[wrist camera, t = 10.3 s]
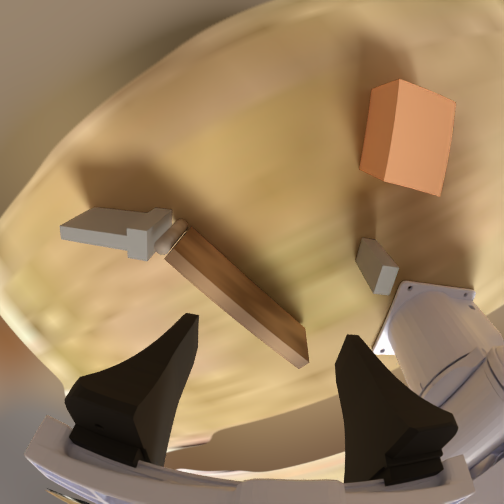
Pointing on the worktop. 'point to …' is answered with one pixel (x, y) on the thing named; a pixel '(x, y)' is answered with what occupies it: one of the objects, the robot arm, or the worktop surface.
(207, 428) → the worktop surface
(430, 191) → the terracotta rectangular block
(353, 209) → the worktop surface
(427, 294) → the robot arm
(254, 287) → the gate door
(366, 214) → the worktop surface
